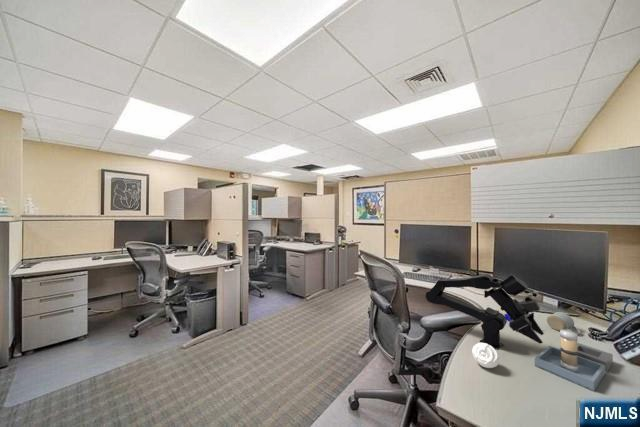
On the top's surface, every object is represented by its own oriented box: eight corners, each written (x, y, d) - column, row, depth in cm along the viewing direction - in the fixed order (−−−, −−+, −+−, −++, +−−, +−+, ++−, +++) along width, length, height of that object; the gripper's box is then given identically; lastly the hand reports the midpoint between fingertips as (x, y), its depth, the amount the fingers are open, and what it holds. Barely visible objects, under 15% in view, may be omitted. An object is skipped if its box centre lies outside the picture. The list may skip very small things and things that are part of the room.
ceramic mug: (545, 327, 112) (545, 312, 112) (553, 324, 116) (553, 309, 116) (576, 338, 103) (576, 321, 103) (583, 334, 106) (583, 318, 106)
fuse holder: (606, 372, 79) (606, 362, 79) (565, 357, 88) (565, 348, 88) (612, 363, 84) (612, 354, 84) (573, 349, 93) (573, 341, 93)
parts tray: (593, 391, 70) (593, 381, 70) (534, 365, 82) (534, 357, 82) (605, 374, 78) (605, 365, 78) (550, 353, 90) (549, 345, 90)
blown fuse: (570, 372, 78) (569, 335, 78) (557, 364, 82) (556, 329, 83) (581, 372, 78) (581, 335, 79) (568, 364, 82) (567, 329, 83)
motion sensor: (469, 364, 83) (469, 343, 83) (476, 356, 88) (476, 336, 88) (495, 376, 77) (495, 353, 77) (502, 367, 81) (502, 346, 82)
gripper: (520, 296, 83) (564, 338, 75) (525, 286, 96) (563, 321, 88) (494, 311, 89) (532, 351, 81) (502, 299, 102) (536, 333, 93)
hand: (542, 338), depth 86 cm, fingers open, 9 cm apart
